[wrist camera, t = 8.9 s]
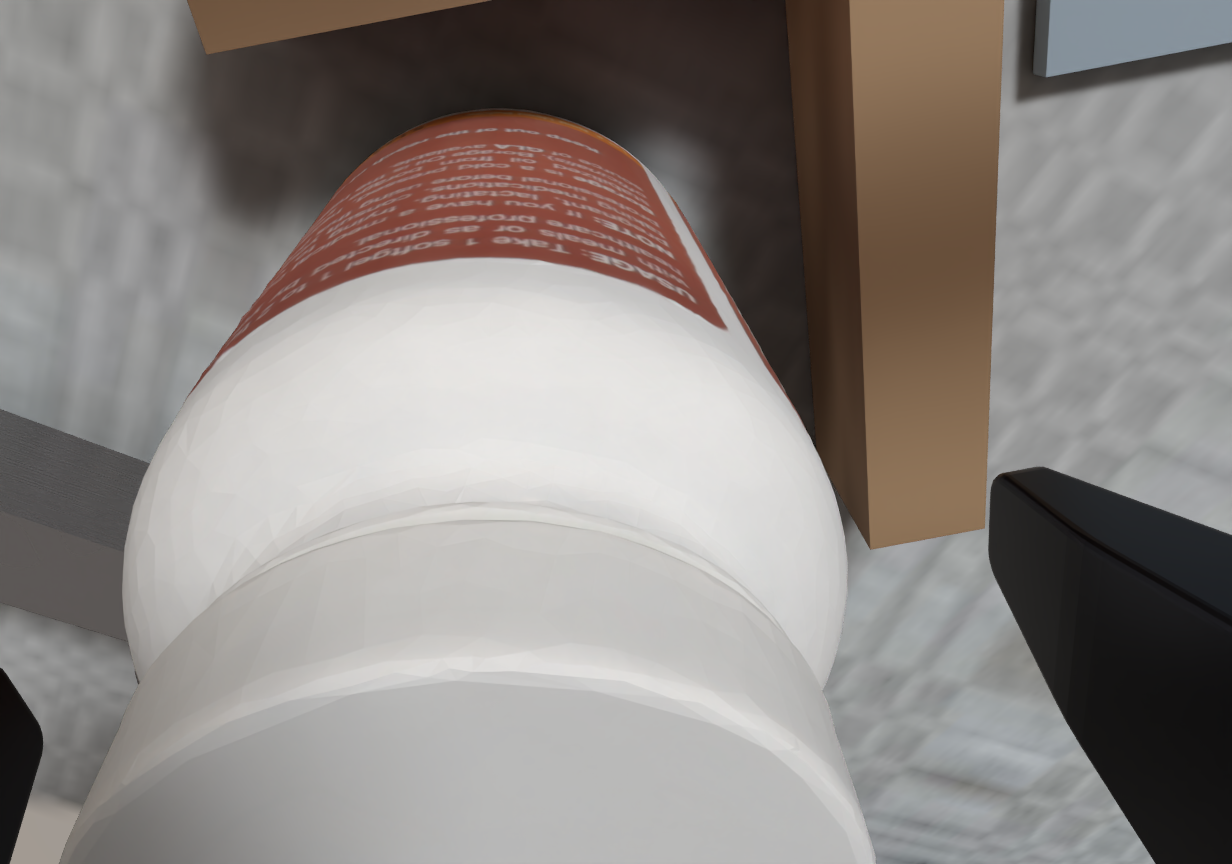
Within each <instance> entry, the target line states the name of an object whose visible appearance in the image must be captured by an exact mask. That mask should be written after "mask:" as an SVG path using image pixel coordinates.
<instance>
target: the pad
mask: <svg viewBox="0 0 1232 864" xmlns="http://www.w3.org/2000/svg"><path fill="white" fill-rule="evenodd" d="M1230 42H1232V0H1037V7H1036V26H1035V45H1034V64H1033V74H1035V75H1039V76H1043V77H1051V76H1056V75H1061V74H1067V73H1072V72H1077V71H1082V70H1088V69H1093V68H1098V67H1104V66H1109V65H1114V64H1119V63H1125V62H1130V61H1135V60H1141V59H1146V58H1151V57H1156V56H1162V55H1167V54H1172V53H1177V52H1183V51H1188V50H1193V49H1199V48H1204V47H1209V46H1214V45H1220V44H1225V43H1230Z"/></svg>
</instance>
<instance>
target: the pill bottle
mask: <svg viewBox="0 0 1232 864" xmlns="http://www.w3.org/2000/svg"><path fill="white" fill-rule="evenodd" d="M847 569H848V563H847V553H846V543H845V535H844V531H843V526H842V521H841V516H840V512H839V509H838V505H837V501H836V497H835V494H834V491H833V489H832V486H831V483H830V481H829V478H828V476H827V474H826V471H825V469H824V466H823V464H822V462H821V459H820V457H819V455H818V453H817V451H816V449H815V447H814V445H813V443H812V440H811V438H810V436H809V434H808V433H807V431H806V428H805V426H804V424H803V422H802V420H801V418H800V416H799V414H798V412H797V411H796V409H795V407H794V406H793V404H792V402H791V401H790V399H789V397H788V396H787V394H786V392H785V390H784V388H783V386H782V385H781V383H780V381H779V379H778V377H777V376H776V374H775V372H774V371H773V369H772V368H771V366H770V365H769V363H768V361H767V359H766V357H765V356H764V354H763V352H762V350H761V348H760V346H759V344H758V342H757V341H756V339H755V337H754V336H753V334H752V332H751V330H750V328H749V326H748V325H747V323H746V321H745V320H744V318H743V317H742V315H741V313H740V311H739V309H738V307H737V306H736V304H735V302H734V300H733V298H732V297H731V296H730V294H729V292H728V290H727V289H726V287H725V285H724V283H723V282H722V280H721V278H720V276H719V275H718V273H717V271H716V270H715V268H714V266H713V264H712V262H711V261H710V259H709V257H708V256H707V254H706V252H705V250H704V249H703V247H702V245H701V243H700V242H699V240H698V238H697V236H696V235H695V233H694V231H693V230H692V228H691V226H690V224H689V223H688V221H687V219H686V218H685V216H684V215H683V213H682V212H681V210H680V209H679V207H678V205H677V204H676V202H675V201H674V200H673V198H672V197H671V196H670V195H669V193H668V192H667V191H666V189H665V188H664V187H663V185H662V184H661V183H660V182H659V180H658V179H657V178H656V177H655V176H654V175H653V174H652V173H651V171H650V170H649V169H648V168H646V167H645V166H644V165H643V164H642V163H641V162H640V161H639V160H638V159H637V158H635V157H634V156H633V155H632V154H631V153H629V152H628V151H627V150H625V149H624V148H623V147H621V146H620V145H618V144H617V143H615V142H614V141H612V140H610V139H609V138H607V137H605V136H603V135H602V134H600V133H598V132H596V131H594V130H592V129H589V128H587V127H585V126H583V125H581V124H578V123H575V122H572V121H569V120H566V119H563V118H559V117H556V116H552V115H549V114H544V113H540V112H535V111H530V110H522V109H508V108H491V109H478V110H471V111H463V112H458V113H453V114H449V115H445V116H441V117H438V118H435V119H433V120H430V121H427V122H425V123H422V124H420V125H418V126H416V127H413V128H411V129H409V130H407V131H405V132H403V133H402V134H400V135H398V136H397V137H395V138H393V139H392V140H390V141H388V142H387V143H386V144H384V145H383V146H382V147H380V148H379V149H378V150H376V151H375V152H374V153H373V154H372V155H370V156H369V157H368V158H367V159H366V160H365V161H364V162H363V163H362V164H360V165H359V166H358V167H357V168H356V169H355V170H354V171H353V172H352V173H351V174H350V175H349V176H348V177H347V179H346V180H345V181H344V182H343V183H342V185H341V186H340V187H339V189H338V190H337V191H336V192H335V194H334V195H333V197H332V198H331V199H330V201H329V202H328V204H327V205H326V206H325V208H324V209H323V211H322V212H321V213H320V215H319V216H318V218H317V219H316V220H315V222H314V223H313V224H312V226H311V227H310V229H309V230H308V231H307V233H306V234H305V235H304V237H303V238H302V239H301V240H300V242H299V243H298V245H297V246H296V247H295V249H294V250H293V251H292V253H291V254H290V256H289V257H288V258H287V260H286V261H285V262H284V264H283V265H282V267H281V268H280V270H279V271H278V272H277V273H276V275H275V276H274V277H273V278H272V280H271V281H270V282H269V283H268V284H267V286H266V288H265V290H264V291H263V293H262V294H261V296H260V297H259V298H258V299H257V300H256V302H255V303H254V304H253V305H252V307H251V309H250V310H249V311H248V312H247V313H246V314H245V315H244V316H243V317H242V319H241V321H240V323H239V325H238V327H237V328H236V329H235V331H234V332H233V333H232V335H231V336H230V338H229V339H228V340H227V342H226V343H225V344H224V346H223V347H222V348H221V350H220V351H219V353H218V354H217V356H216V357H215V359H214V360H213V361H212V362H211V364H210V365H209V367H208V368H207V369H206V370H205V371H204V372H203V374H202V376H201V377H200V379H199V381H198V382H197V384H196V385H195V386H194V388H193V389H192V391H191V392H190V394H189V395H188V397H187V398H186V400H185V402H184V404H183V406H182V408H181V410H180V411H179V413H178V415H177V416H176V418H175V420H174V421H173V423H172V424H171V426H170V428H169V429H168V431H167V433H166V434H165V436H164V438H163V439H162V441H161V443H160V444H159V446H158V448H157V450H156V452H155V454H154V457H153V459H152V461H151V463H150V465H149V467H148V469H147V471H146V473H145V475H144V477H143V480H142V483H141V485H140V488H139V491H138V494H137V497H136V499H135V502H134V505H133V509H132V514H131V519H130V523H129V528H128V533H127V538H126V542H125V549H124V564H123V583H122V599H123V613H124V623H125V629H126V634H127V638H128V643H129V648H130V652H131V656H132V660H133V664H134V667H135V671H136V674H137V677H138V679H139V682H140V683H139V685H138V687H137V689H136V691H135V693H134V695H133V697H132V699H131V701H130V703H129V705H128V707H127V708H126V711H125V713H124V716H123V719H122V722H121V725H120V727H119V729H118V732H117V734H116V736H115V738H114V740H113V742H112V745H111V747H110V749H109V751H108V753H107V755H106V757H105V760H104V762H103V764H102V766H101V768H100V770H99V773H98V775H97V777H96V779H95V781H94V783H93V785H92V788H91V790H90V792H89V794H88V796H87V799H86V801H85V803H84V805H83V807H82V809H81V812H80V814H79V816H78V818H77V820H76V823H75V825H74V827H73V829H72V832H71V834H70V836H69V838H68V840H67V843H66V845H65V848H64V851H63V853H62V856H61V859H60V862H59V864H876V856H875V852H874V849H873V846H872V843H871V839H870V836H869V833H868V830H867V827H866V823H865V820H864V817H863V814H862V810H861V807H860V804H859V801H858V798H857V794H856V791H855V788H854V785H853V782H852V780H851V777H850V774H849V771H848V768H847V765H846V762H845V759H844V756H843V753H842V750H841V747H840V745H839V742H838V739H837V736H836V732H835V728H834V724H833V720H832V716H831V712H830V708H829V705H828V703H827V700H826V698H825V696H824V694H823V692H822V690H823V688H824V686H825V684H826V682H827V679H828V677H829V674H830V671H831V669H832V666H833V663H834V659H835V656H836V652H837V648H838V645H839V641H840V638H841V634H842V629H843V623H844V616H845V609H846V601H847Z"/></svg>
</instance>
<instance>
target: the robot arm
mask: <svg viewBox="0 0 1232 864" xmlns="http://www.w3.org/2000/svg"><path fill="white" fill-rule="evenodd" d="M988 552H989V560H990V564H991V568H992V571H993V574H994V576H995V579H996V581H997V583H998V585H999V587H1000V589H1001V591H1002V593H1003V595H1004V597H1005V599H1006V601H1007V603H1008V605H1009V607H1010V609H1011V611H1012V613H1013V616H1014V618H1015V620H1016V622H1017V624H1018V626H1019V628H1020V630H1021V632H1022V634H1023V636H1024V638H1025V640H1026V642H1027V644H1028V646H1029V648H1030V650H1031V652H1032V654H1033V657H1034V659H1035V661H1036V663H1037V665H1038V667H1039V669H1040V671H1041V673H1042V675H1043V677H1044V679H1045V681H1046V683H1047V685H1048V687H1049V689H1050V691H1051V693H1052V695H1053V697H1054V699H1055V701H1056V703H1057V705H1058V707H1059V709H1060V711H1061V713H1062V715H1063V717H1064V719H1065V720H1066V722H1067V724H1068V726H1069V727H1070V729H1071V731H1072V732H1073V734H1074V735H1075V737H1076V739H1077V740H1078V742H1079V744H1080V745H1081V747H1082V749H1083V750H1084V752H1085V753H1086V755H1087V757H1088V758H1089V760H1090V761H1091V763H1092V764H1093V766H1094V768H1095V769H1096V771H1097V772H1098V774H1099V775H1100V777H1101V778H1102V780H1103V782H1104V783H1105V785H1106V786H1107V788H1108V789H1109V791H1110V793H1111V794H1112V796H1113V797H1114V799H1115V800H1116V802H1117V804H1118V805H1119V807H1120V808H1121V810H1122V811H1123V813H1124V815H1125V816H1126V818H1127V819H1128V821H1129V822H1130V824H1131V826H1132V827H1133V829H1134V830H1135V832H1136V833H1137V835H1138V837H1139V838H1140V840H1141V841H1142V843H1143V844H1144V846H1145V848H1146V849H1147V851H1148V852H1149V854H1150V855H1151V857H1152V859H1153V860H1154V862H1155V863H1156V864H1232V535H1230V534H1227V533H1225V532H1222V531H1219V530H1216V529H1214V528H1211V527H1208V526H1205V525H1203V524H1200V523H1197V522H1194V521H1192V520H1189V519H1186V518H1183V517H1181V516H1178V515H1175V514H1172V513H1170V512H1167V511H1164V510H1161V509H1159V508H1156V507H1153V506H1150V505H1148V504H1145V503H1142V502H1139V501H1137V500H1134V499H1131V498H1128V497H1126V496H1123V495H1120V494H1117V493H1115V492H1112V491H1109V490H1106V489H1104V488H1101V487H1098V486H1095V485H1093V484H1090V483H1087V482H1084V481H1082V480H1079V479H1076V478H1073V477H1071V476H1068V475H1065V474H1062V473H1060V472H1057V471H1054V470H1051V469H1049V468H1045V467H1033V468H1027V469H1022V470H1017V471H1012V472H1006V473H1001V474H999V475H998V476H997V477H996V478H995V479H994V480H993V483H992V486H991V492H990V519H989V545H988ZM42 751H43V735H42V731H41V728H40V725H39V723H38V721H37V720H36V718H35V717H34V715H33V714H32V712H31V711H30V709H29V708H28V706H27V705H26V703H25V702H24V700H23V699H22V697H21V695H20V694H19V692H18V691H17V689H16V688H15V686H14V685H13V683H12V682H11V680H10V679H9V677H8V676H7V674H6V673H5V672H4V670H3V669H1V668H0V864H10V861H11V857H12V854H13V850H14V847H15V843H16V840H17V837H18V833H19V830H20V827H21V823H22V820H23V816H24V813H25V810H26V807H27V803H28V800H29V796H30V793H31V790H32V786H33V783H34V780H35V776H36V773H37V769H38V766H39V763H40V759H41V756H42Z"/></svg>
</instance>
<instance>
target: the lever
mask: <svg viewBox="0 0 1232 864" xmlns="http://www.w3.org/2000/svg"><path fill="white" fill-rule="evenodd" d="M149 465H150V464H149V463H146V462H144V461H141V460H138V459H135V458H133V457H130V456H127V455H125V454H122V453H119V452H116V451H114V450H111V449H108V448H105V447H103V446H100V445H97V444H94V443H92V442H89V441H86V440H83V439H81V438H78V437H75V436H73V435H70V434H67V433H64V432H62V431H59V430H56V429H53V428H51V427H48V426H45V425H42V424H40V423H37V422H34V421H31V420H29V419H26V418H23V417H20V416H18V415H15V414H12V413H10V412H7V411H4V410H1V409H0V602H1V603H4V604H7V605H10V606H14V607H17V608H20V609H23V610H27V611H30V612H33V613H36V614H40V615H43V616H46V617H49V618H53V619H56V620H59V621H62V622H66V623H69V624H72V625H75V626H79V627H82V628H85V629H88V630H92V631H95V632H98V633H101V634H105V635H108V636H111V637H114V638H118V639H121V640H124V641H127V642H128V638H127V634H126V629H125V623H124V613H123V599H122V583H123V564H124V549H125V542H126V538H127V533H128V528H129V523H130V519H131V514H132V509H133V505H134V502H135V499H136V497H137V494H138V491H139V488H140V485H141V483H142V480H143V477H144V475H145V473H146V471H147V469H148V467H149ZM135 675H136V678H137V682H138V684H139V683H140V682H139V679H138V677H137V674H136V671H135Z"/></svg>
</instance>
